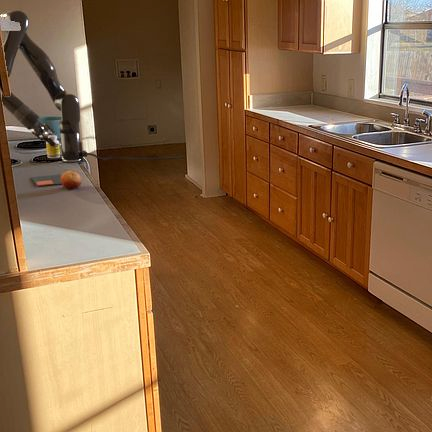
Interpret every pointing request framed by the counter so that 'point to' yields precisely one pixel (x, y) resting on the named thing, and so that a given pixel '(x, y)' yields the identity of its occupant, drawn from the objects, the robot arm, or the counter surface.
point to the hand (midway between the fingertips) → (56, 143)
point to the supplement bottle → (53, 148)
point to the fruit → (70, 180)
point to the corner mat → (47, 180)
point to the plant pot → (52, 123)
